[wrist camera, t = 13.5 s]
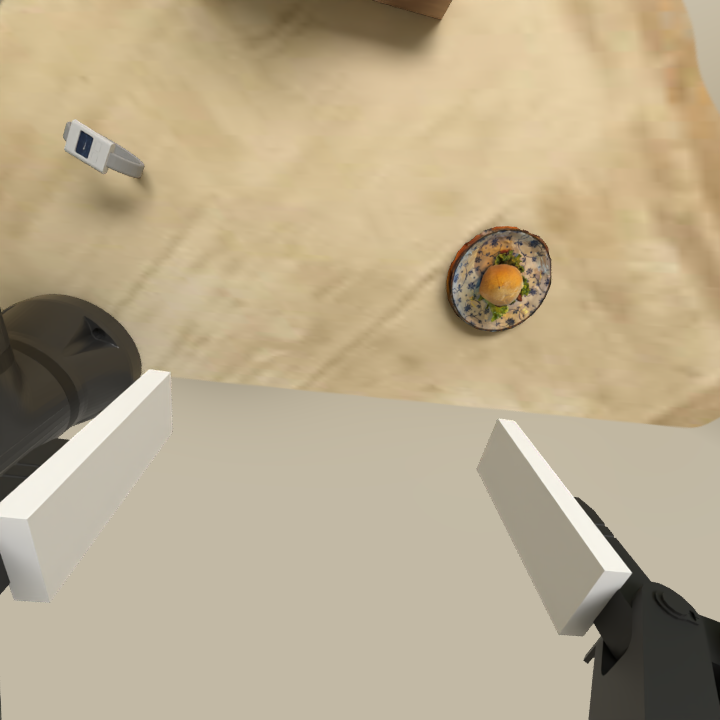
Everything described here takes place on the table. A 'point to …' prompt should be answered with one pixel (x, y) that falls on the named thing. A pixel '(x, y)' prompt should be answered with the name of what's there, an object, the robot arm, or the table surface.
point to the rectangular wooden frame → (421, 6)
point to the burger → (499, 278)
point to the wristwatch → (99, 151)
